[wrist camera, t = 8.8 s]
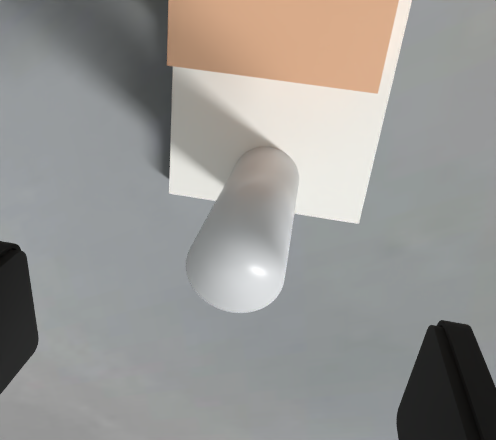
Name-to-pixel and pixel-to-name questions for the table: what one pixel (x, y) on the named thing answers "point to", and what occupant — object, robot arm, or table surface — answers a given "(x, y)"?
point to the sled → (274, 126)
